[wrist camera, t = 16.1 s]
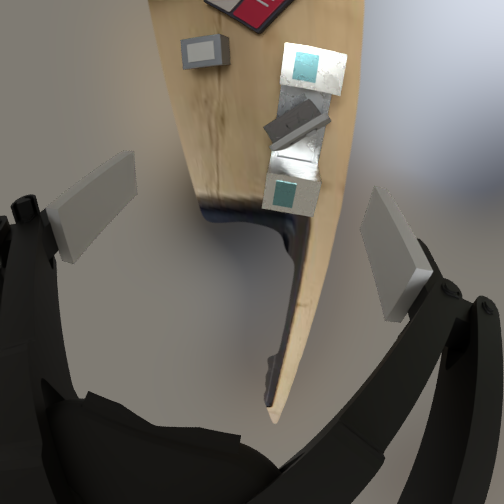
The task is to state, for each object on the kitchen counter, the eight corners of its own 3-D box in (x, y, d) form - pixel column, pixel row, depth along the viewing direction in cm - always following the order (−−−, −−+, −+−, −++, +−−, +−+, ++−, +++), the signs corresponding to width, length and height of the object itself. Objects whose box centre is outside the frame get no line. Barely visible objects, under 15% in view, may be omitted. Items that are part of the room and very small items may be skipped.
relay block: (195, 68, 39) (182, 69, 34) (193, 42, 36) (180, 40, 31) (230, 64, 39) (221, 64, 34) (228, 37, 36) (219, 33, 31)
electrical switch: (284, 149, 45) (278, 162, 37) (266, 124, 43) (256, 131, 35) (331, 121, 41) (337, 128, 33) (313, 94, 39) (315, 95, 31)
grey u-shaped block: (267, 183, 51) (261, 208, 43) (286, 48, 36) (285, 42, 28) (310, 190, 51) (313, 217, 43) (336, 57, 35) (347, 54, 28)
